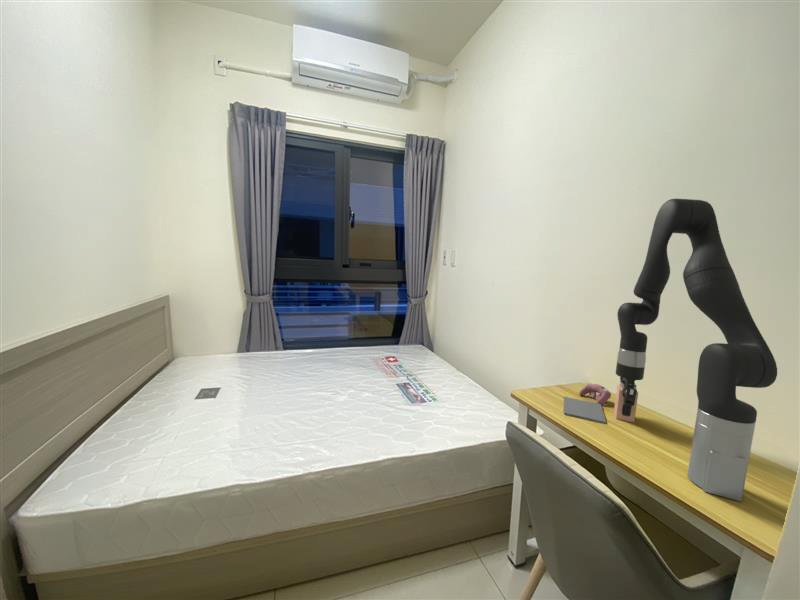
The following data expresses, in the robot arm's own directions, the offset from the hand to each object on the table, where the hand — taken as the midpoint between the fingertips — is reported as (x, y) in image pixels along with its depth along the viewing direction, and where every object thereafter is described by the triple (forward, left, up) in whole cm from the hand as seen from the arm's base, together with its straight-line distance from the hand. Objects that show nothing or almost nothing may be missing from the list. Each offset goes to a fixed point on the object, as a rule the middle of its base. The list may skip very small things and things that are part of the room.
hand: (624, 411), depth 107 cm
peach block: (0, 0, -2) cm, 2 cm away
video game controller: (+12, +8, -2) cm, 15 cm away
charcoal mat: (-1, +12, -2) cm, 12 cm away
